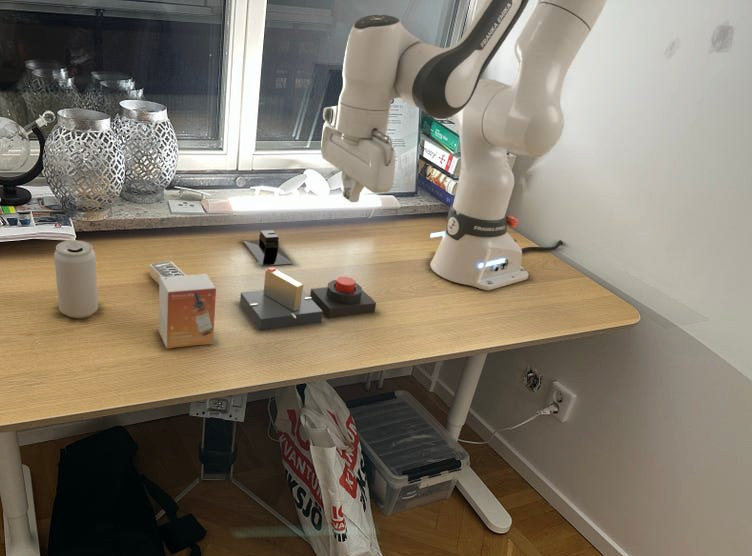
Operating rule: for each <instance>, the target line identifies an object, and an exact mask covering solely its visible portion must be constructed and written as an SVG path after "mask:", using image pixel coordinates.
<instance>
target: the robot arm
mask: <svg viewBox="0 0 752 556" xmlns="http://www.w3.org/2000/svg"><path fill="white" fill-rule="evenodd" d="M529 1H530V0H484V3H483V4H482V6H481V8H480V9H479V11H478V12H477V14H476V15H475V17H474V19H473V20H472V21H471V23H470V24H469V26H468V27H467V29H466V30H465V32H464V33H463V34H462V36H461V38H460V39H459V41H457V43H455V44H453V45H451V46H448V47H440V46H436V45H434V44H431V43H429V42H425V41H422V40H421V39H419V38H418V37H417V36H415V35H413V34H411V32H409V31H408V30H407V29H406V28H405V27H404V25H402V21H401V20H400V19H399V18H398V17H395V16H393V15H388V14H372V15H365V16H363V17H360V18H359V19H357V20H356V21H355V22H354V24H353V25H352V27H351V30H350V32H349V34H348V38H347V43H346V48H345V53H344V58H343V65H342V89H341V92H340V94H339V97H338V103H337V105H334V106H326V107H325V108H323V113H322V118H323V120H324V121H325V122H324V123H323V126H322V132H321V134H322V135H321V142H320V143H321V144H320V145H321V146H320V153H321V156H322V157H321V158H322V159H323V160H325V161H326V162H328V163H329V164H330V165H332V166H334V167H335V168H336V169H338V170H339V171H341V182H342V187H343V190H342V197H344V198H345V199H346V200H347V201H349V202H350V203H358V202H359V200H360V197H361V196H360V195H361V193H362V191H363V190H364V188H366V189H367V190H369V191H370V192H371V193H374V194H382V193H389V192H390V191H391V189H392V188H393V186H394V180H395V172H396V161H397V159H396V157H397V156H396V150H395V146H394V145H393V141H392V138H391V137H390V135H388V134H387V131H388V125H389V119H390V114H391V108H392V101H393V100H394V99H398V100H399V101H400V100H401V101H402V102H404V103H406V104H408V105H410V106H412V107H416V108H417V109H419V110H420V111H422V112H424V113H426V115H429V116H430V117H432V118H434V119H436V120H437V119H438V120H445V119H449V118H451V117H452V119H453V121H454V123H455V125H456V129H457V132H458V135H459V136H458V137H459V145H460V172H459V176H458V181H457V186H456V190H455V195H454V199H453V201H452V203H451V205H450V207H449V210H448V214H447V218H446V225H445V230H444V231H440V232H432V233H430V237H429V238H437V237H442V238H441V240H440V242H439V245H438V248H437V250H436V251H435V253H434V256H433V257H432V259H431V261H430V264H429V266H430V268H431V270H432V272H434V273H435V274H436V275H437V276H439V277H441V278H443V279H445V280H448V281H450V282H453V283H457V284H461V285H465V286H470V287H474V288H477V289H480V290H483V291H492V290H495V289H498V288H502V287H506V286H509V285H512V284H515V283H519V282H522V281H526V280H528V279H529V272H528V271H527V270H526V268H525V267H524V266H522V260H523V253H524V252H526V251H553V250H554V251H555V250H556V249H559V247H560V246H561V245H564V242H563V240H562V241H561V239H559V240H558V242H556V244H555V245H554V246H526V247H523V248H521V246H520V245H519V244H518V241H517V240H516V239H515V238H513V237H512V236H511V235H510V233H509V232H508V226H509V227H510V228H512V229H515V228H517V226H519V222H520V221H519V219H518V218H516V217H514V216H513V215H509V216H507V214H506V213H507V210H508V207H509V203H510V200H511V197H512V193H513V190H514V186H515V176H514V172H513V170H512V169H511V167H510V164H509V161H508V160H509V159H508V152H509V153H511V154H514V155H517V156H523V157H529V158H530V157H531V158H539V157H542V156H544V155H546V154H548V153H549V152H550V151H552V150H553V149H554V148H555V146H556V145H557V144H558V142H559V141H560V139H561V136H562V135H563V132H564V125H565V118H564V114H563V113H564V112H563V110H562V108H561V95H562V88H563V83H564V81H565V79H566V75H567V74H568V71H569V69H570V67H571V66H572V63H573V62H574V60H575V58H576V56H577V55H578V53H579V51H580V50H581V48H582V46H583V44H584V43H585V41H586V39H587V38H588V36H589V34H590V33H591V31H592V29H593V28H594V27H595V25H596V23H597V21H598V19H599V18H600V16H601V13H602V11H603V9H604V7H605V5H606V3H607V1H608V0H539V1H538V3H537V4H536V7H534V10H533V11H532V12H531V15H530V16H529V18H528V20H527V22H526V23H525V25H524V27H523V28H522V30H521V32H520V34H519V35H518V37H517V38H516V40H515V44H514V54H515V58H516V60H517V62H518V70H517V74H516V76H515V79H514V81H513V83H512V85H511V84H507V83H504V82H501V81H498V80H496V79H490V78H489V79H487V78H482V77H483V75H484V73H485V71H486V69H487V68H488V66H489V65H490V64H491V62H492V60H493V59H494V57H495V56H496V54H497V52H498V51H499V50H500V49H501V46H503V43H504V42H505V41H506V39H507V37H508V36H509V34H510V33H511V31H512V30H513V28H514V27H515V25H517V22H518V20H519V19H520V17H521V16H522V14H523V12H524V11H525V9H526V7H527V5H528V3H529Z"/></svg>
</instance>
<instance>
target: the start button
mask: <svg viewBox="0 0 752 556" xmlns="http://www.w3.org/2000/svg"><path fill="white" fill-rule="evenodd" d="M335 280H336V286H335V288H336V290H338V291H341V292H345V293H351V292H353V291H354V288H355V283H356V280H355V279H354V278H352V277H349V276H338V277H337V278H336V279H335Z"/></svg>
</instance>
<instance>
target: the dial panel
mask: <svg viewBox="0 0 752 556" xmlns="http://www.w3.org/2000/svg"><path fill="white" fill-rule="evenodd" d="M263 293H264V289H261V290H252V291H242V292H240V298H239V305H240V306H241V307H242V309H243V310H244V312H245V313H246V315H247V316H248V318H250V319H251V321H252V322H253V323H254V325H255V326H256V327H257V329H258V330H259V331H260V332H263V331H270V330H278V329H285V328H293V327H299V326H300V327H301V326H307V325H315V324H321V323H322V319H323V314H324V313H323V311H322V310H321V309H320V308H319V307H318V306H317V305H316V303H315V302H314V301H313V300H312V298H311V297H310V295H308V293H306V292H305V290H303V291H302V298H301V306H300V309H299V310H297V311H292V310H290V309H289V308H287V307H285V306H284V305H282V304H280V303H278V302H277V301H275V300H273V299H271V298H270V297H268V296H266V295H265V294H263Z"/></svg>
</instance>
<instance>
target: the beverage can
mask: <svg viewBox="0 0 752 556" xmlns="http://www.w3.org/2000/svg"><path fill="white" fill-rule="evenodd" d="M93 247H94V246H93V245H92V244H91V243H90V242H88V241H84V240H77V239H71V240H63V241H61V242H60V243H59V242H58V243H57V244H56V245H55V251H54V252H53V257H54V267H55V268H54V270H55V279H56V288H57V289H56V291H57V302H58V309H59V311H60V312H61V313H62V314H64V315H66V316H67V317H69V318H71V319H85V318H88V317H91V316H93V314H95V313H96V311H98V309H99V296H98V295H99V293H98V279H97V278H98V277H97V276H98V275H97V259H96V252H95V251H94V249H93Z"/></svg>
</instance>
